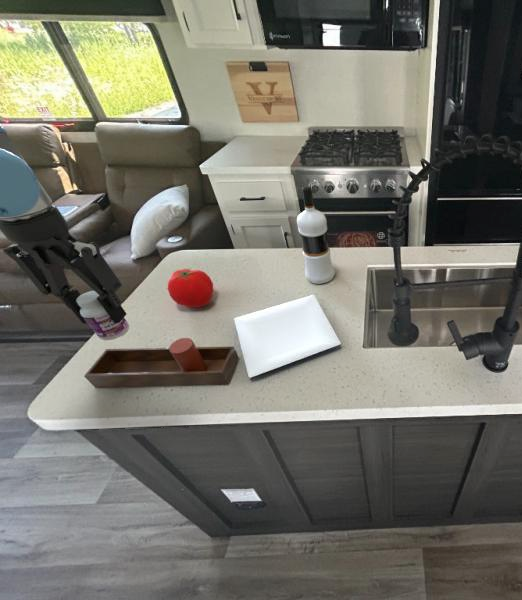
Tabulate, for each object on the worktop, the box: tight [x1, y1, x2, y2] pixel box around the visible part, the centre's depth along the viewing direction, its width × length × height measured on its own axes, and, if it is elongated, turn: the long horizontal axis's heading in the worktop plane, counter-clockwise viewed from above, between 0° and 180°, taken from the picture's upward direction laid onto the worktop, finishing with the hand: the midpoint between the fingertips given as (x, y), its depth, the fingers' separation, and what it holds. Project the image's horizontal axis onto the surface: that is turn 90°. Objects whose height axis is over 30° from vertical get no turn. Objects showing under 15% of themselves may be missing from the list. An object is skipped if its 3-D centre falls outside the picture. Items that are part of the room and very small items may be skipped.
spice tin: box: [168, 337, 207, 372], centre depth 74 cm, size 5×5×9 cm
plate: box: [233, 294, 341, 379], centre depth 87 cm, size 22×22×2 cm
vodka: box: [296, 185, 335, 285], centre depth 98 cm, size 9×9×30 cm
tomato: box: [167, 267, 214, 308], centre depth 94 cm, size 11×13×10 cm
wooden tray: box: [84, 345, 240, 389], centre depth 76 cm, size 29×8×4 cm, turn 93°
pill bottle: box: [76, 290, 130, 341], centre depth 66 cm, size 5×5×10 cm
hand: (105, 318), depth 66 cm, fingers closed on pill bottle, 5 cm apart
